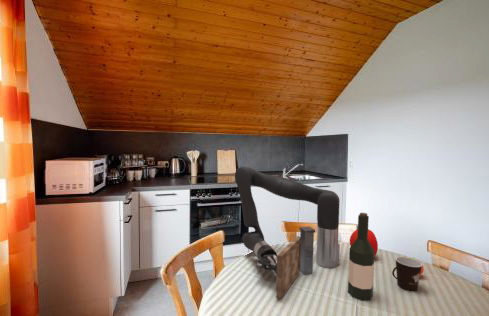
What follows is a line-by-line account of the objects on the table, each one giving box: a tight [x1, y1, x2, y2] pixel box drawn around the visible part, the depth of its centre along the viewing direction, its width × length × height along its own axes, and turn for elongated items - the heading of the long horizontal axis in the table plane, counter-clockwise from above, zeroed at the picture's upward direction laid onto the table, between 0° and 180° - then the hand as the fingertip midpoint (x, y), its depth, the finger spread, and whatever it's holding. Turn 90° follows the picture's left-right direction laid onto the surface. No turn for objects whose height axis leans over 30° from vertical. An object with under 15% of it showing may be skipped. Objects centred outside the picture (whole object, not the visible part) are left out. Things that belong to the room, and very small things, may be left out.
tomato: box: [349, 228, 379, 258], centre depth 123 cm, size 13×11×14 cm
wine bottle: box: [347, 212, 376, 302], centre depth 91 cm, size 8×8×30 cm
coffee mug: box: [391, 256, 423, 292], centre depth 97 cm, size 12×9×10 cm
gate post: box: [298, 226, 316, 276], centre depth 107 cm, size 5×5×19 cm
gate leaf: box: [275, 235, 301, 300], centre depth 96 cm, size 22×2×15 cm, turn 150°
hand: (281, 273), depth 91 cm, fingers closed
